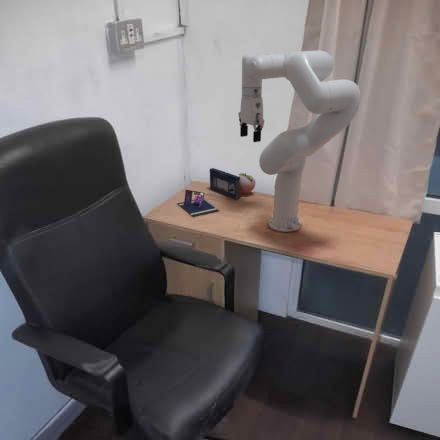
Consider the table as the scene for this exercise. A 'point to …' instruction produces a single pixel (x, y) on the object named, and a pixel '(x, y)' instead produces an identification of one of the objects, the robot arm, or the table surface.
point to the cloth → (198, 211)
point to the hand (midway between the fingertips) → (250, 138)
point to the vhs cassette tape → (225, 183)
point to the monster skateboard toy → (197, 199)
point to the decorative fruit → (246, 183)
